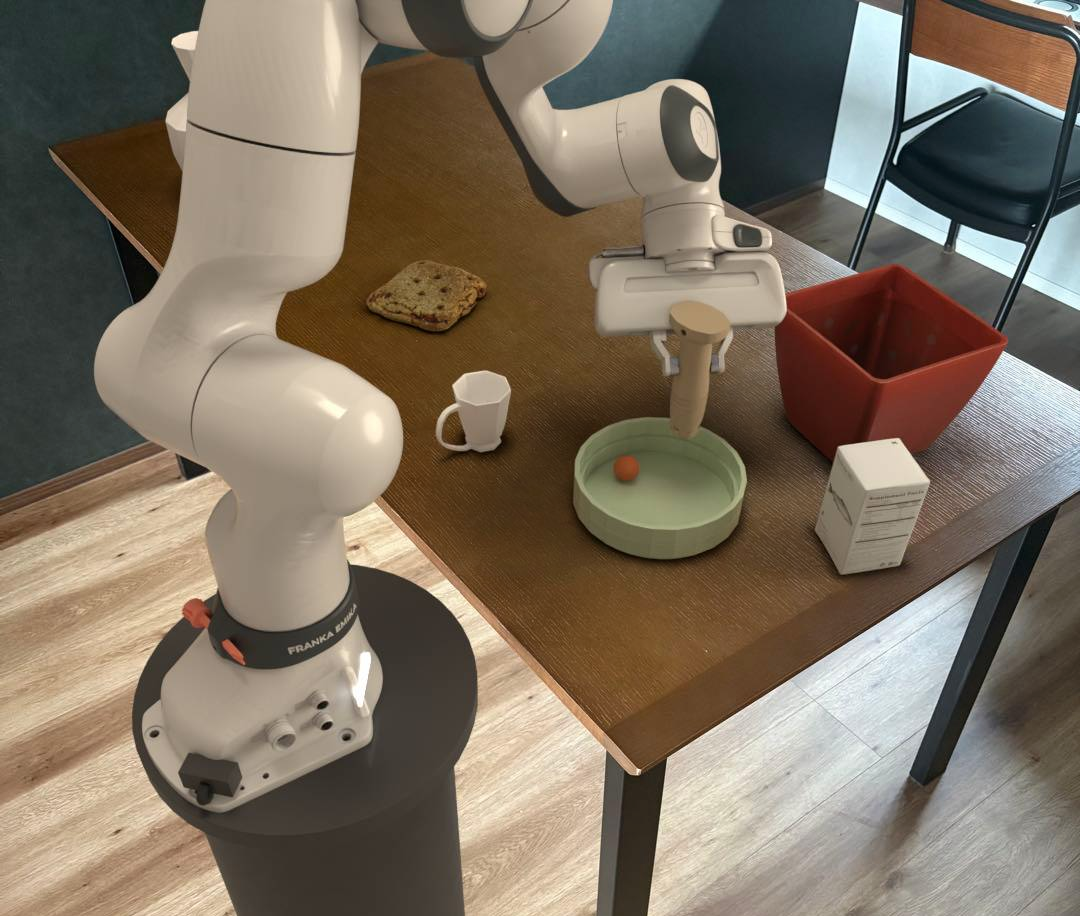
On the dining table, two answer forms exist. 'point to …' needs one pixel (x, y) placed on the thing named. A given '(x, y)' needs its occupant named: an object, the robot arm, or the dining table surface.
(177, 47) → the vase
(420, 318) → the pastry
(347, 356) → the dining table surface
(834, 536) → the white packaging box
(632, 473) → the ball
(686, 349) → the handle
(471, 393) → the cup
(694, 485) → the bowl
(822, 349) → the flower pot
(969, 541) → the dining table surface
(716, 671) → the dining table surface
